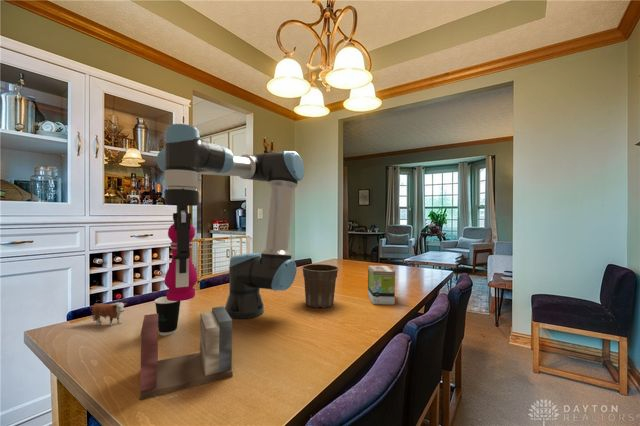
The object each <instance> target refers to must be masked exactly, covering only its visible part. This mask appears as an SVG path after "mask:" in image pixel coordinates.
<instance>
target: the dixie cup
mask: <svg viewBox="0 0 640 426" xmlns="http://www.w3.org/2000/svg"><path fill="white" fill-rule="evenodd" d="M154 303H155V311H156V313H155V314H157V313H158V333H159V335H160V336H171V335H173V334H175V333H176V332H177V329H178V325H179V324H178V323H179V317H180V316H179V315H180V308H181V301H169V300H167V295H166V296H161V297H158V298H156V299H154Z"/></svg>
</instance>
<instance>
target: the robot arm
mask: <svg viewBox="0 0 640 426" xmlns="http://www.w3.org/2000/svg"><path fill="white" fill-rule="evenodd" d="M156 164H157V167H158V168H159V170H160V171H162V172H163V173H164V187H165V188H167V189H166V190H165V191H164V204H165V205H166V206H175V207H176V212H172V220H173V224H174V229H175V230H176V231H177V256H173V260H174V259H176V288H178V287H188V286H189V256H190V254H191V252H190V253H189V230H190V224H191V220H192V213H189V207H190V206H191V207H196V206H199V203H200V202H199V201H200V198H199V197H200V195H199V194H200V192H199V190H198V189H199V186H200V185H199V182H200V181H202V177H201V176H200V175H211V176H212V175H213V176H228V177H229V176H230V177H240V179H243V180H249V181H250V180H251V181H259V182H265V183H266V182H267V184H268V185H269V186H270V198H269V199H270V200H269V208H268V209H269V211H268V218H267V219H268V221H267V231H266V242H265V248H264V250H263V251H261V253H259V252H253V253H252V252H251V253H243V254H237V255H233V256H232V257H231V258H230V260H229V266H228V270H229V271H228V273H229V274H228V276H229V277H228V278H229V281H228V282H229V283H228V284H229V285H228V288H229V293H228V297H227V300H226V302H225V303H226V304H225V306H224V308H225V310H226V311H227V313H228V314H229V316H230V317H231V319H237V320H238V319H240V320H244V319H252V318H255V317H258V316H261V315H262V314H263V313H264V312H265V307H264V302H263V301H264V300H263V298H262V295H261V291H260V289H263V290H270V291H275V292H277V291H281V292H282V291H286V290H288V289H289V288H291V286H292V285H293V284H294V281H295V279H296V276H297V264H296V261H295V260H294V259H292V253H291V252H290V251H289V245H290V243H289V242H290V231H291V219H292V206H293V197H294V190H295V189H296V188H297V187H298V182H300V181H301V180H303V178H304V176H305V166H304V163H303V160H302V157H301V156H300V154H299V153H297V151H294V150H289V151H288V150H284V151H277V152H276V151H275V152H266V153H265V152H264V153H258V154H241V155H234V154H233V152H232V151H231V150H230V149H229V148H227V147H225V146H223V145H222V144H221V145H220V144H216V143H212V142H209V141H207V140H206V141H205V140H203V139H201V136H200V130H199V129H198V128H197V127H195V126H194V125H190V124H183V123H174V124H173V123H172V124H169V125H168V126H167V127H166V129H165V140H164V149H162V150H160V151H159V152H158V153H157V155H156Z"/></svg>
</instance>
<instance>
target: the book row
mask: <svg viewBox="0 0 640 426" xmlns="http://www.w3.org/2000/svg"><path fill="white" fill-rule="evenodd" d="M199 315H200V317H199V319H200V321H199V322H200V324H199V326H200V328H199V329H200V330H199V332H200V333H199V351H198V352H194V353H188V354H184V355H180V356H179V355H178V356H173V357H169V358H164V359H161V360H160V359H158V358H159V354H158V353H159V330H158V313H149V314H145V315H144V316H143V321H142V325H141V329H140V378H139V379H140V382H139V383H140V384H139V385H140V386H139V387H140V388H139V391H140V392H139V400H141V401H142V400H144V399H149V398H152V397H156V396H160V395H164V394H169V393H172V392H177V391H180V390H181V391H182V390H184V389H188V388H192V387H196V386H199V385H204V384H207V383H213V382H215V381H220V380H223V379H228V378H232V377H233V375H234V374H233V371H234V370H233V318H231V317H230V316H229V314H228V313H227V311H226V310H225V306H224V305H223V306H222V305H221V306H216V307H212V308H211V311H206V312H200V313H199Z"/></svg>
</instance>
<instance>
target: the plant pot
mask: <svg viewBox="0 0 640 426" xmlns="http://www.w3.org/2000/svg"><path fill="white" fill-rule="evenodd" d="M301 269H302V275H303V276H302V277H303V278H304V280H303V281H304V295H305V304H306V306H308V307H311V308H316V309H317V308H318V309H319V308H320V307H321V308H322V309H324V308H330V307H332V306H333V305H334V303H335V302H334V300H335V299H334V298H335V291H336V290H335V289H336V283H337V282H336V281H337V278H338V272H339V270H340V268H339V266H336V265H333V264H324V263H321V264H320V263H316V264H314V263H312V264H305V265H302V266H301Z"/></svg>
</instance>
